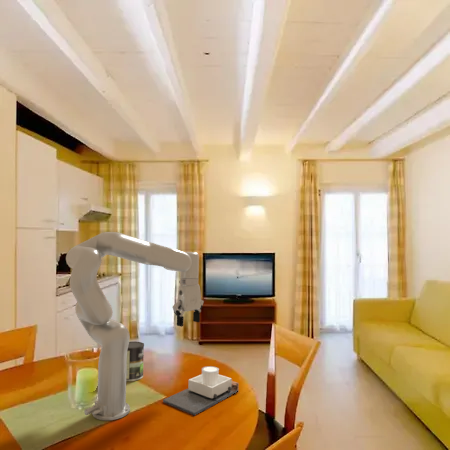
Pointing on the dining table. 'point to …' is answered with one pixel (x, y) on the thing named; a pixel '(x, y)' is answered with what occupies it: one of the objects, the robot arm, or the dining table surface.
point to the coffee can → (134, 361)
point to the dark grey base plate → (197, 400)
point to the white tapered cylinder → (210, 375)
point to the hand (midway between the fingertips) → (188, 323)
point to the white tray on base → (205, 390)
